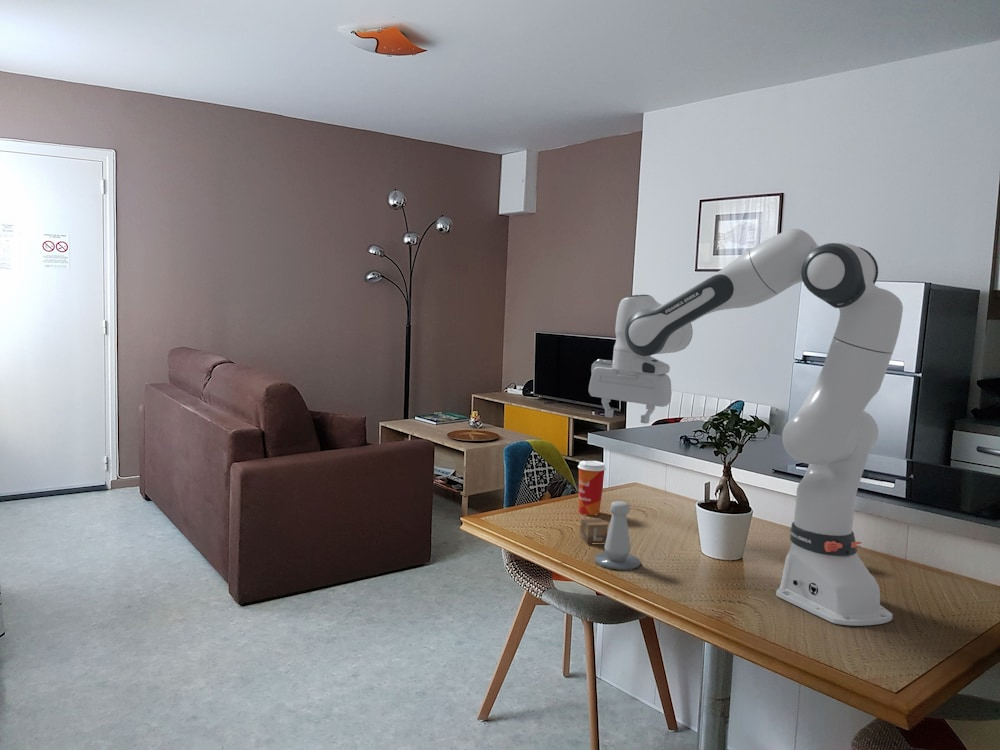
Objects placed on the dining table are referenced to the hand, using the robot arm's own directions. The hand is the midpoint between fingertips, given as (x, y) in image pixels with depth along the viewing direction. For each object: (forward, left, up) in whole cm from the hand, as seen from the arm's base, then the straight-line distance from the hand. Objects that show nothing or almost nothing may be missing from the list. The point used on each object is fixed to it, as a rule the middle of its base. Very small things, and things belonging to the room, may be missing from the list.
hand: (626, 419), depth 184 cm
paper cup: (+24, -2, -30) cm, 39 cm away
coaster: (-14, +7, -30) cm, 34 cm away
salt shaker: (-14, +7, -30) cm, 33 cm away
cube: (+1, +6, -30) cm, 31 cm away
